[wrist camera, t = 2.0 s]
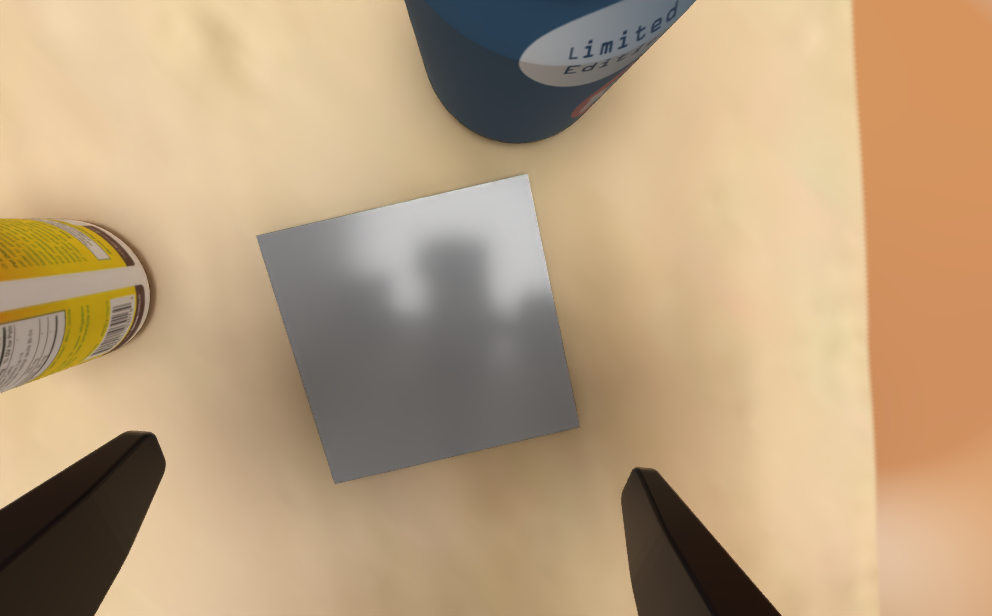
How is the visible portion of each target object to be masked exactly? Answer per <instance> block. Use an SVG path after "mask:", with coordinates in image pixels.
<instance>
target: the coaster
mask: <svg viewBox="0 0 992 616" xmlns="http://www.w3.org/2000/svg"><path fill="white" fill-rule="evenodd" d="M256 237H257V240H258V243H259V246H260V249H261V253H262V256H263V259H264V262H265V265H266V268H267V272H268V275H269V278H270V281H271V284H272V287H273V290H274V294H275V297H276V300H277V303H278V306H279V309H280V313H281V316H282V319H283V322H284V325H285V328H286V332H287V335H288V338H289V341H290V344H291V347H292V350H293V354H294V357H295V360H296V363H297V366H298V369H299V373H300V376H301V379H302V382H303V385H304V388H305V392H306V395H307V398H308V401H309V404H310V407H311V410H312V414H313V417H314V420H315V423H316V426H317V429H318V433H319V436H320V439H321V442H322V445H323V448H324V451H325V455H326V458H327V461H328V464H329V467H330V470H331V474H332V477H333V480H334V483H335V484H337V483H341V482H346V481H350V480H354V479H358V478H363V477H367V476H371V475H376V474H380V473H384V472H389V471H393V470H397V469H402V468H406V467H410V466H414V465H419V464H423V463H427V462H432V461H436V460H440V459H445V458H449V457H453V456H457V455H462V454H466V453H470V452H475V451H479V450H483V449H488V448H492V447H496V446H501V445H505V444H509V443H513V442H518V441H522V440H526V439H531V438H535V437H539V436H544V435H548V434H552V433H556V432H561V431H565V430H569V429H574V428H578V427H580V426H579V421H578V416H577V411H576V406H575V401H574V397H573V392H572V387H571V382H570V377H569V372H568V367H567V363H566V358H565V353H564V348H563V343H562V338H561V333H560V329H559V324H558V319H557V314H556V309H555V304H554V299H553V295H552V290H551V285H550V280H549V275H548V270H547V265H546V261H545V256H544V251H543V246H542V241H541V236H540V231H539V227H538V222H537V217H536V212H535V207H534V202H533V198H532V193H531V188H530V183H529V178H528V174H524V175H519V176H515V177H510V178H506V179H502V180H497V181H493V182H489V183H484V184H480V185H476V186H471V187H467V188H462V189H458V190H454V191H449V192H445V193H441V194H436V195H432V196H428V197H423V198H419V199H415V200H410V201H406V202H401V203H397V204H393V205H388V206H384V207H380V208H375V209H371V210H367V211H362V212H358V213H354V214H349V215H345V216H340V217H336V218H332V219H327V220H323V221H319V222H314V223H310V224H306V225H301V226H297V227H292V228H288V229H284V230H279V231H275V232H271V233H266V234H262V235H258V236H256Z"/></svg>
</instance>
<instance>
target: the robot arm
mask: <svg viewBox="0 0 992 616" xmlns="http://www.w3.org/2000/svg"><path fill="white" fill-rule="evenodd" d="M165 466H166V462H165V458H164V455H163V453H162V450H161V448H160V445H159V443H158V440H157V438H156V436H155V435H154V434H153V433H152V432H144V431H127V432H125V433H122V434H121V435H119V436H117V437H116V438H114V439H113V440H111V441H109V442H108V443H106V444H105V445H103V446H101V447H100V448H98V449H97V450H95V451H93V452H92V453H90V454H89V455H87V456H85V457H84V458H82V459H81V460H79V461H77V462H76V463H74V464H73V465H71V466H69V467H68V468H66V469H65V470H63V471H61V472H60V473H58V474H57V475H55V476H53V477H52V478H50V479H49V480H47V481H45V482H44V483H42V484H41V485H39V486H37V487H36V488H34V489H33V490H31V491H29V492H28V493H26V494H25V495H23V496H21V497H20V498H18V499H17V500H15V501H13V502H12V503H10V504H9V505H7V506H5V507H4V508H2V509H1V510H0V616H94V615H95V613H96V612H97V610H98V608H99V606H100V604H101V603H102V601H103V599H104V597H105V596H106V594H107V592H108V590H109V588H110V587H111V585H112V583H113V581H114V580H115V578H116V576H117V574H118V573H119V571H120V569H121V567H122V565H123V563H124V561H125V560H126V558H127V556H128V554H129V551H130V549H131V547H132V545H133V543H134V541H135V538H136V536H137V534H138V532H139V529H140V527H141V525H142V522H143V520H144V518H145V516H146V513H147V511H148V509H149V506H150V504H151V502H152V500H153V497H154V495H155V493H156V491H157V488H158V486H159V484H160V481H161V479H162V477H163V474H164V471H165ZM621 505H622V513H623V521H624V529H625V537H626V546H627V554H628V562H629V570H630V577H631V583H632V588H633V593H634V598H635V602H636V607H637V611H638V615H639V616H782V615H781V614H780V613H779V612H778V611H777V610H776V608H775V607H774V606H773V605H772V604H771V603H770V601H769V600H768V599H767V598H766V597H765V596H764V594H763V593H762V592H761V591H760V590H759V589H758V588H757V586H756V585H755V584H754V583H753V582H752V581H751V579H750V578H749V577H748V576H747V575H746V574H745V572H744V571H743V570H742V569H741V568H740V567H739V565H738V564H737V563H736V562H735V561H734V560H733V558H732V557H731V556H730V555H729V554H728V553H727V551H726V550H725V549H724V548H723V547H722V546H721V544H720V543H719V542H718V541H717V540H716V539H715V538H714V536H713V535H712V534H711V533H710V532H709V531H708V529H707V528H706V527H705V526H704V525H703V524H702V522H701V521H700V520H699V519H698V518H697V517H696V515H695V514H694V513H693V512H692V511H691V510H690V508H689V507H688V506H687V505H686V504H685V503H684V501H683V500H682V499H681V498H680V497H679V496H678V494H677V493H676V492H675V491H674V490H673V489H672V488H671V486H670V485H669V484H668V483H667V482H666V481H665V479H664V478H663V477H662V476H661V475H660V474H659V472H658V471H656V470H655V469H652V468H641V467H636V468H634V469H633V470H632V472H631V474H630V476H629V478H628V480H627V483H626V485H625V487H624V489H623V492H622V497H621Z"/></svg>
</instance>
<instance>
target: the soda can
mask: <svg viewBox="0 0 992 616" xmlns="http://www.w3.org/2000/svg"><path fill="white" fill-rule="evenodd" d="M695 1H696V0H405V4H406V7H407V10H408V13H409V17H410V20H411V23H412V26H413V30H414V33H415V36H416V40H417V43H418V46H419V49H420V53H421V56H422V59H423V62H424V66H425V69H426V72H427V75H428V78H429V80H430V83H431V85H432V87H433V89H434V91H435V93H436V95H437V96H438V98H439V99H440V101H441V102H442V104H443V105H444V106H445V108H446V109H447V110H448V111H449V112H450V113H451V114H452V115H453V116H454V117H455V118H456V119H457V120H458V121H459V122H460V123H462V124H463V125H464V126H466V127H467V128H469V129H470V130H472V131H474V132H476V133H477V134H479V135H482V136H484V137H486V138H489V139H493V140H496V141H501V142H507V143H527V142H534V141H538V140H542V139H545V138H548V137H551V136H553V135H555V134H557V133H559V132H561V131H563V130H565V129H566V128H568V127H569V126H570V125H572V124H573V123H574V122H576V121H577V120H578V119H579V118H580V117H581V116H582V115H583V114H584V113H585V112H586V111H587V110H588V109H589V108H590V107H591V106H592V105H593V104H594V103H595V102H596V101H597V100H598V99H599V98H600V97H601V96H602V95H603V94H604V93H605V92H606V91H607V90H608V89H609V88H610V87H611V86H612V85H613V84H614V83H615V82H616V81H617V80H618V79H619V78H620V77H621V76H622V75H623V74H624V73H625V72H626V71H627V70H628V69H629V68H630V67H631V66H632V65H633V64H634V63H635V62H636V61H637V60H638V59H639V58H640V57H641V56H642V55H643V54H644V53H645V52H646V51H647V50H648V49H649V48H650V47H651V46H652V45H653V44H654V43H655V42H656V41H657V40H658V39H659V38H660V37H661V36H662V35H663V34H664V33H665V32H666V31H667V30H668V29H669V28H670V27H671V26H672V25H673V24H674V23H675V22H676V21H677V20H678V19H679V18H680V17H681V16H682V15H683V14H684V13H685V12H686V11H687V10H688V9H689V7H690V6H691V5H692V4H693V3H694V2H695Z"/></svg>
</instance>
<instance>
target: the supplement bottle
mask: <svg viewBox="0 0 992 616" xmlns="http://www.w3.org/2000/svg"><path fill="white" fill-rule="evenodd" d="M149 303H150V290H149V284H148V280H147V276H146V273H145V271H144V269H143V267H142V265H141V263H140V261H139V260H138V258H137V257H136V255H135V254H134V253H133V252H132V250H131V249H130V248H129V247H128V246H127V245H126V244H125V243H124V242H122V241H121V240H120V239H119V238H118V237H116V236H115V235H113V234H112V233H110V232H108V231H107V230H105V229H103V228H101V227H98V226H96V225H93V224H90V223H87V222H83V221H78V220H69V219H0V393H2V392H5V391H7V390H10V389H13V388H16V387H18V386H21V385H24V384H26V383H29V382H32V381H35V380H38V379H40V378H43V377H46V376H48V375H51V374H54V373H56V372H59V371H62V370H65V369H67V368H70V367H73V366H75V365H78V364H81V363H84V362H86V361H89V360H92V359H95V358H97V357H100V356H103V355H106V354H108V353H110V352H112V351H114V350H116V349H118V348H120V347H122V346H123V345H125V344H126V343H127V342H129V341H130V340H131V339H132V338H133V337H134V336H135V335H136V334H137V332H138V331H139V330H140V329H141V327H142V325H143V323H144V321H145V319H146V316H147V313H148V309H149Z"/></svg>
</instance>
